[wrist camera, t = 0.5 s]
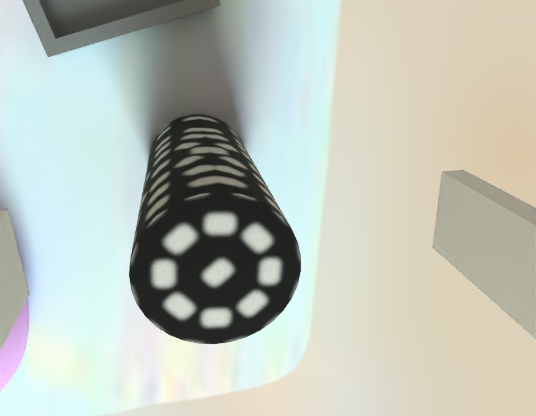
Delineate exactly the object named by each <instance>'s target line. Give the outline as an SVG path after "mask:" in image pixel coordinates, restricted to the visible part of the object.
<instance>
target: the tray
mask: <svg viewBox="0 0 536 416" xmlns="http://www.w3.org/2000/svg"><path fill="white" fill-rule="evenodd" d="M23 2H24V5H25V7H26V9H27V11H28V14H29V16H30V18H31V20H32V23H33V25H34V27H35V29H36V31H37V34H38V36H39V38H40V40H41V43H42V45H43V47H44V49H45V51H46V54H47V56H48V57H50V56H54V55H58V54H61V53H64V52H68V51H71V50H74V49H77V48H81V47H84V46H87V45H91V44H94V43H97V42H101V41H104V40H107V39H111V38H114V37H117V36H120V35H124V34H127V33H130V32H134V31H137V30H140V29H144V28H147V27H150V26H154V25H157V24H160V23H163V22H167V21H170V20H173V19H177V18H180V17H183V16H187V15H190V14H193V13H197V12H200V11H203V10H206V9H210V8H213V7H216V6H219V5H220V2H219V0H23Z"/></svg>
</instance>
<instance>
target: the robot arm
mask: <svg viewBox="0 0 536 416" xmlns="http://www.w3.org/2000/svg"><path fill="white" fill-rule="evenodd" d="M433 248H434V249H435V250H436V251H437V252H438V253H439V254H440V255H442V256H443V257H444V258H445V259H446V260H447V261H448V262H449V263H450V264H452V265H453V266H454V267H455V268H456V269H457V270H459V271H460V272H461V273H462V274H463V275H464V276H465V277H466V278H467V279H469V280H470V281H471V282H472V283H473V284H474V285H475V286H476V287H478V288H479V289H480V290H481V291H482V292H483V293H484V294H486V295H487V296H488V297H489V298H490V299H491V300H492V301H493V302H495V303H496V304H497V305H498V306H499V307H500V308H501V309H502V310H504V311H505V312H506V313H507V314H508V315H509V316H510V317H511V318H513V319H514V320H515V321H516V322H517V323H518V324H520V325H521V326H522V327H523V328H524V329H525V330H526V331H527V332H529V333H530V334H531V335H532V336H533V337H534V338H535V339H536V208H535V207H533V206H531V205H529V204H527V203H525V202H523V201H521V200H520V199H518V198H515V197H514V196H512V195H510V194H508V193H506V192H504V191H502V190H501V189H498V188H497V187H495V186H493V185H491V184H489V183H487V182H485V181H484V180H482V179H480V178H478V177H476V176H474V175H472V174H470V173H468V172H466V171H464V170H457V171H445V172H442V175H441V184H440V191H439V199H438V207H437V215H436V223H435V231H434V239H433ZM28 295H29V291H28V287H27V283H26V279H25V275H24V271H23V267H22V263H21V259H20V255H19V251H18V247H17V243H16V239H15V235H14V231H13V227H12V223H11V220H10V216H9V212H8V209H4V210H0V350H1V348H2V347H3V345H4V343H5V341H6V339H7V337H8V335H9V333H10V331H11V329H12V327H13V325H14V323H15V321H16V319H17V317H18V315H19V313H20V311H21V309H22V307H23V305H24V303H25V301H26V299H27V297H28Z"/></svg>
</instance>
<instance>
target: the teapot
mask: <svg viewBox="0 0 536 416" xmlns="http://www.w3.org/2000/svg"><path fill="white" fill-rule="evenodd" d="M28 328H29V307H28V299H26V301H25V303H24V305H23V307H22V309H21V311H20V313H19V315H18V317H17V319H16V321H15V323H14V325H13V327H12V329H11V331H10V333H9V335H8V337H7V339H6V341H5V343H4V345H3V347H2V348H1V350H0V391H1V390H2V389H3V388H4V387H5V385H6V384H7V383H8V382H9V380H10V379H11V378H12V376H13V375H14V373H15V371H16V370H17V368H18V366H19V364H20V362H21V360H22V358H23V355H24V352H25V348H26V343H27V337H28Z"/></svg>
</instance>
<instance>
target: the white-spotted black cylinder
mask: <svg viewBox="0 0 536 416" xmlns="http://www.w3.org/2000/svg"><path fill="white" fill-rule="evenodd" d="M300 272H301V255H300V251H299V246H298V242H297V240H296V237H295V235H294V233H293V231H292V229H291V227H290V225H289V224H288V222H287V220H286V218H285V217H284V215H283V213H282V212H281V210H280V208H279V206H278V205H277V203H276V201H275V199H274V198H273V196H272V194H271V192H270V191H269V189H268V187H267V185H266V184H265V182H264V180H263V179H262V177H261V175H260V173H259V172H258V170H257V168H256V166H255V165H254V163H253V161H252V159H251V158H250V156H249V154H248V152H247V151H246V149H245V147H244V146H243V144H242V142H241V140H240V139H239V137H238V136H237V134H236V133H235V132H234V130H233V129H232V128H230V127H229V126H228V125H227V124H226V123H224V122H222V121H221V120H219V119H217V118H214V117H211V116H206V115H188V116H184V117H180V118H178V119H176V120H174V121H172V122H170V123H169V124H168V125H166V126H165V127H164V128H163V129H162V130H161V131H160V132H159V133H158V135H157V136H156V138H155V140H154V142H153V144H152V147H151V150H150V155H149V160H148V166H147V171H146V177H145V182H144V188H143V193H142V199H141V204H140V210H139V215H138V221H137V226H136V231H135V237H134V242H133V248H132V253H131V259H130V270H129V277H130V284H131V290H132V293H133V295H134V298H135V300H136V303H137V305H138V306H139V308H140V309H141V311H142V312H143V313H144V315H145V316H146V317H147V318H148V319H149V320H150V321H151V322H152V323H153V324H154V325H155V326H156V327H158V328H159V329H161V330H162V331H164V332H166V333H167V334H169V335H171V336H174V337H176V338H179V339H181V340H184V341H189V342H194V343H199V344H219V343H226V342H232V341H235V340H238V339H242V338H245V337H247V336H249V335H252V334H254V333H256V332H258V331H260V330H261V329H263V328H264V327H265V326H267V325H268V324H270V323H271V322H272V321H273V320H274V319H275V318H276V317H277V316H278V315H279V314H280V313H281V312H282V311H283V310H284V309H285V307H286V306H287V304H288V303H289V302H290V300H291V299H292V297H293V294H294V292H295V290H296V287H297V285H298V281H299V276H300Z"/></svg>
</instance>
